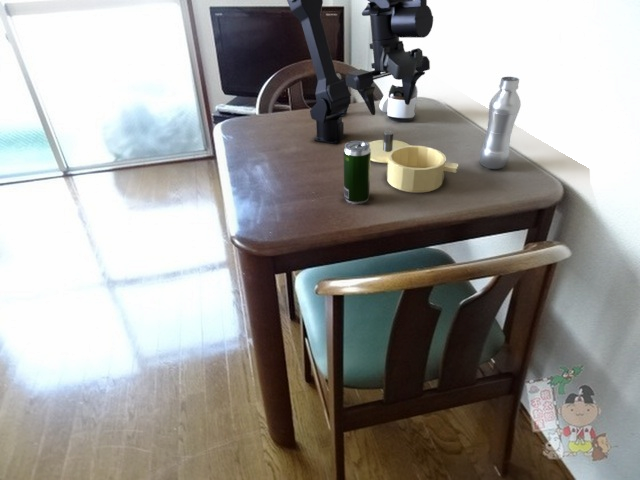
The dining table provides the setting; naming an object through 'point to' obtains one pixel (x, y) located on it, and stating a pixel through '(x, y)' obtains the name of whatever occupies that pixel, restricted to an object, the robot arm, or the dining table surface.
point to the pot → (416, 168)
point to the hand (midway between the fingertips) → (390, 109)
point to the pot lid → (385, 145)
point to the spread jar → (398, 103)
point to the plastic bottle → (500, 124)
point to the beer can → (357, 171)
